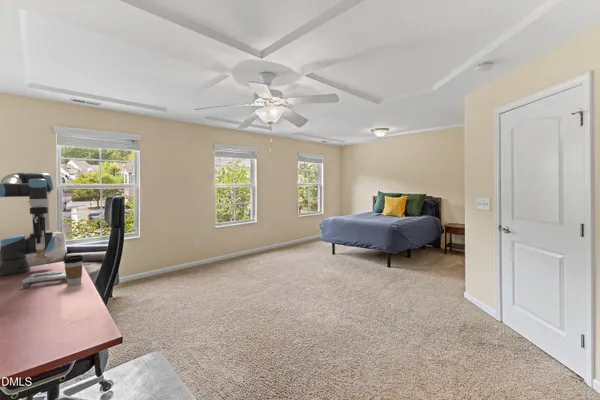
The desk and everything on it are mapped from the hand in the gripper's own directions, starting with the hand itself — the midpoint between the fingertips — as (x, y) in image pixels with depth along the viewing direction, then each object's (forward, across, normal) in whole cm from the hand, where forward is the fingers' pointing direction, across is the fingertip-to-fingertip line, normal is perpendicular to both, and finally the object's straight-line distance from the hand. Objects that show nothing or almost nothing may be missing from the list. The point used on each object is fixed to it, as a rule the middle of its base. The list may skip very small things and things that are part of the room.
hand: (40, 248), depth 164 cm
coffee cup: (+19, +14, +17) cm, 29 cm away
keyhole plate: (+19, 0, +4) cm, 19 cm away
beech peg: (+6, 0, 0) cm, 6 cm away
